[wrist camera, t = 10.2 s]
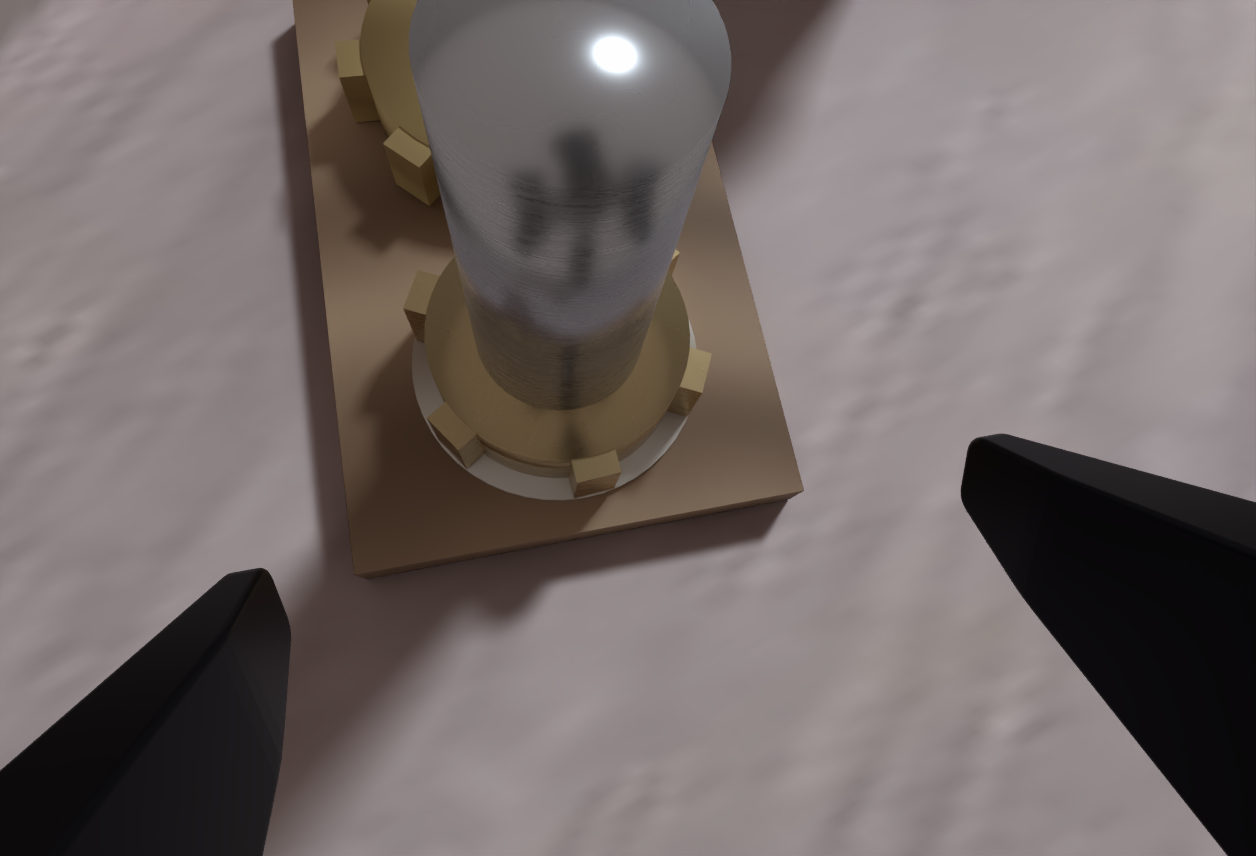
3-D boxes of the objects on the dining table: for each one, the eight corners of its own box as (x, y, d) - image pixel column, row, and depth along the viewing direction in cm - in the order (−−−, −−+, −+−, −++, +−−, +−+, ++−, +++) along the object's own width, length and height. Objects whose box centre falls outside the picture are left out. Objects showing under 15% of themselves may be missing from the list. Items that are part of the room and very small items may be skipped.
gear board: (789, 499, 20) (859, 458, 15) (365, 579, 18) (307, 558, 14) (657, -12, 24) (683, -161, 20) (303, 15, 23) (243, -141, 18)
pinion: (548, 553, 18) (552, 438, 8) (361, 361, 18) (140, 26, 8) (743, 361, 19) (957, 64, 9) (566, 195, 20) (588, -245, 10)
